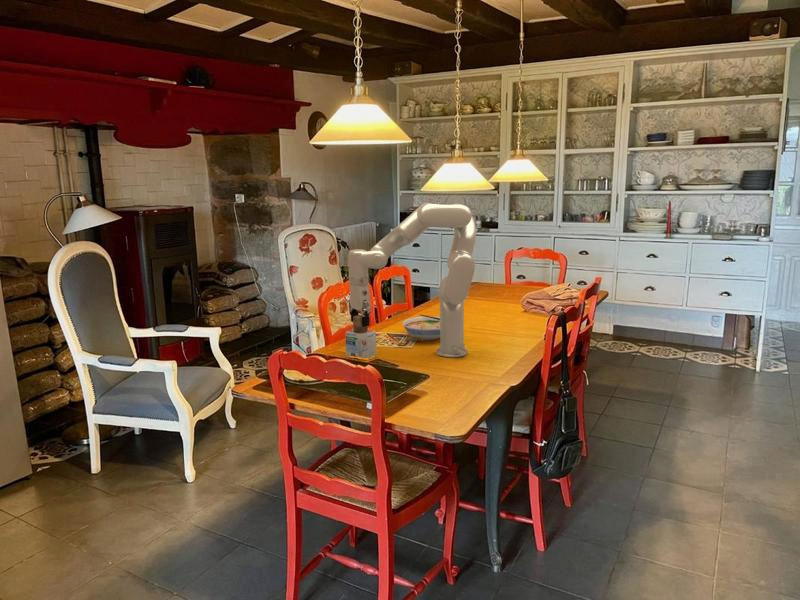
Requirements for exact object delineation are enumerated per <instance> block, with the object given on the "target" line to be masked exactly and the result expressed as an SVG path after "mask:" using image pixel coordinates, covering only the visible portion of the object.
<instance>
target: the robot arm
mask: <svg viewBox="0 0 800 600" xmlns="http://www.w3.org/2000/svg"><path fill="white" fill-rule="evenodd" d="M431 227H433V228H453V231H454V233H453V239H452V245H451V247H450V251H449V253H448V258H447V267H448V273H447V276H445V277H443V278H442V280H441V281H440V282H439V286H438V298H439V317H440V337H439V347H438V348H437V349H436V351H435V353H436V354H437V356H439V357H444V358H461V357H464V356H466V355H467V354H468V350H469V349H467V348H465V347H466V345H465V343H464V342H465V340H464V339H465V338H464V337H465V336H464V333H465V331H464V330H465V329H464V327H465V326H464V324H465V321H464V320H465V319H464V318H465V316H464V315H465V309H464V307H465V306H464V305H465V304H464V302H465V301H466V299H467V297H468V295H469V293H470V289H471V285H472V281H473V279H474V275H475V269H476V268H475V267H476V262H475V260H474V257H473V252H474V248H475V244H476V243H475V242H476V238H477V227H476V222H475V219H474V217H473V213H472V210H471V209H470V208H469V207H468V206H467V205H465V204H461V203H453V204H437V203H432V202H425V203H422V204H421V205H420V206H418V208H416V209H415V210H414V211H413V212H412V213H410V214H409V216H407V217H406V218H405V219H404V220H403V221H401V222H400V223H399V224H398V225H397V226H395V227H394V228H393V229H392V230H391V231H390V232H389V233H387V234H386V235H385V236H384V237H383V238H382V239H380V240H379V241H378V242H377V243H376V244H375V245H373V247H371V248H370V250H366V249H363V248H361V249H351V250H348V256H347V257H348V258H347V260H348V264H347V265H348V282H349V283H348V285H349V299H348V302H349V308H350V310H349V311H350V322H351V323H353V316H356V315H359V312H360V314H361V315H362V316H363V317H362V327H366V326H367V327H370V322H371V321H370V318H371V317H370V316H371V309H372V304H371V293H370V287H369V269H373V270H380V269H383V268H385V266H386V267H387V264H388V262H389V261H388V259H389V258H390V257H392V255H393V254H395V253H397V251H398V250H399V251H400V249H402V248H403V247H406V246H409V245H410V244H412V243H414V241H416V239H418V238H419V237H420V236H421V235H422V234H423V233H425V232H426V231H427V230H428V229H429V228H431Z"/></svg>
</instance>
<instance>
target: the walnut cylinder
mask: <svg viewBox="0 0 800 600" xmlns="http://www.w3.org/2000/svg"><path fill="white" fill-rule="evenodd" d="M362 317H363V316H362V314H358V315H356V316H353V322H352V325H353V327H352V329H353V330H354V333H366V332H367V331H368V330H369V329H368V327H369V326H366V327H362Z"/></svg>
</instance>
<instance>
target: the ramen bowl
mask: <svg viewBox="0 0 800 600" xmlns="http://www.w3.org/2000/svg"><path fill="white" fill-rule="evenodd" d="M401 323H402V326H403V327H404V329H405V330H406V332H407V333H408V334H409V335H411V336H412V337H414V338H417V339H419V338H420V339H419V340H421V339H423V340H422V341H434V339H435V340H436V339H440V316H429V315H425V314H420V316H416V317H410V318H408V319H404V320H403V321H402V322H401Z"/></svg>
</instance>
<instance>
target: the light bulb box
mask: <svg viewBox="0 0 800 600" xmlns="http://www.w3.org/2000/svg"><path fill="white" fill-rule="evenodd" d="M344 334H345V356H346V355H347V356H354V357H361V358H370V357H372V356H375V355H376V356H377V332H376V330H370V329H368V331H367V332H366V333H354V330H353V328H352V329H350V330H347V331H345V333H344Z"/></svg>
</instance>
